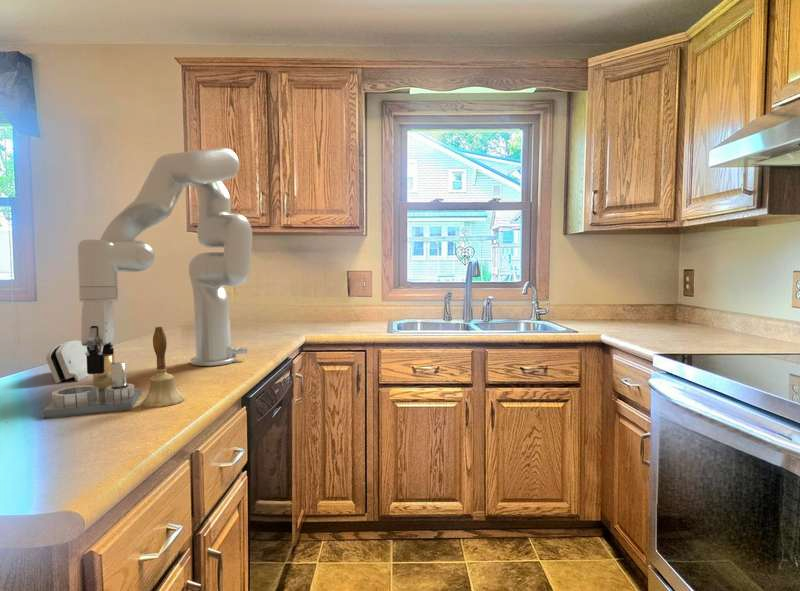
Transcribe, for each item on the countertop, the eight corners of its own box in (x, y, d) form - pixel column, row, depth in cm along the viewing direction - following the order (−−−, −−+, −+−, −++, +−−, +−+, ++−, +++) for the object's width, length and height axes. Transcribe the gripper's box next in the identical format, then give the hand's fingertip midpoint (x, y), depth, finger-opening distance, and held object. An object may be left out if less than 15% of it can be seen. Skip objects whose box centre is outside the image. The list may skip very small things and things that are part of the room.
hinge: (78, 381, 123) (60, 344, 122) (58, 389, 123) (40, 351, 121) (102, 367, 140) (86, 334, 138) (84, 373, 139) (69, 340, 137)
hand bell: (141, 409, 100) (137, 331, 99) (141, 399, 108) (137, 325, 106) (186, 403, 104) (183, 327, 103) (183, 394, 112) (180, 323, 110)
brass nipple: (117, 386, 118) (115, 353, 118) (113, 391, 114) (111, 357, 113) (96, 388, 117) (94, 354, 116) (91, 393, 113) (89, 358, 112)
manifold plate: (141, 394, 112) (139, 356, 111) (131, 409, 100) (129, 368, 100) (62, 401, 107) (60, 361, 106) (43, 418, 95) (40, 374, 95)
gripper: (89, 292, 120) (92, 363, 121) (68, 297, 104) (70, 378, 105) (124, 292, 123) (126, 361, 124) (109, 296, 106) (111, 376, 107)
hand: (101, 369), depth 114 cm, fingers open, 9 cm apart
